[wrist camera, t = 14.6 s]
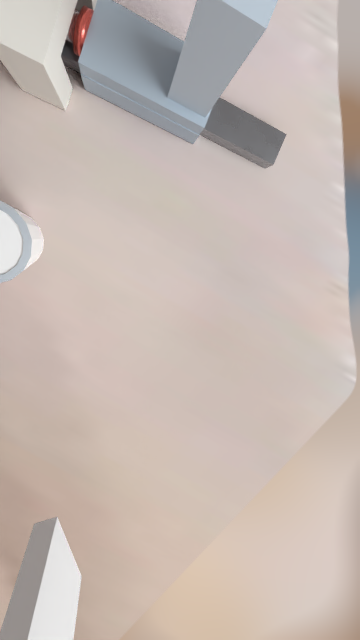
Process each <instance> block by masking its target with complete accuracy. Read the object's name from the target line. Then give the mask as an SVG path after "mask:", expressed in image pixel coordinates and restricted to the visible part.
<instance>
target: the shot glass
mask: <svg viewBox="0 0 360 640" xmlns="http://www.w3.org/2000/svg"><path fill="white" fill-rule="evenodd" d="M43 243H44V238H43V235H42V232H41V229H40V227H39V226H38V225H37V223H36V222H35V221H34V220H33V219H32V218H31V217H29V216H28V215H26V214H24V213H22V212H21V211H19V210H17V209H15V208H13V207H11V206H10V205H8V204H6V203H4V202H2V201H0V283H1V282H5V281H9V280H12V279H13V278H14V277H15V276H17V275H18V274H19V273H21V272H22V271H23V270H25V269H26V268H27V267H28V266H30V265H31V264H32V263H34V262H35V261H36V260H38V258H39V256H40V255H41V253H42V251H43Z"/></svg>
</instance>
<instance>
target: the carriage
mask: <svg viewBox="0 0 360 640" xmlns="http://www.w3.org/2000/svg"><path fill="white" fill-rule="evenodd" d="M277 1H278V0H197V2H196V5H195V9H194V12H193V15H192V18H191V22H190V25H189V28H188V31H187V35H186V38H185V41H182V40H180V39H178V38H177V37H175V36H173V35H171V34H170V33H168V32H166V31H165V30H163V29H161V28H159V27H158V26H156V25H154V24H152V23H151V22H149V21H147V20H146V19H144V18H142V17H140V16H139V15H137V14H135V13H133V12H132V11H130V10H128V9H127V8H125V7H123V6H121V5H120V4H118V3H116V2H114V1H113V0H97V3H96V6H95V9H94V12H93V16H92V19H91V22H90V25H89V28H88V32H87V35H86V38H85V41H84V44H83V48H82V51H81V54H80V57H79V60H78V64H79V67H80V71H81V77H82V81H83V84H84V88H85V90H87V91H89V92H91V93H93V94H95V95H97V96H99V97H101V98H103V99H105V100H107V101H109V102H111V103H113V104H115V105H117V106H119V107H120V108H122V109H124V110H126V111H128V112H130V113H132V114H134V115H136V116H138V117H140V118H142V119H144V120H146V121H148V122H150V123H152V124H154V125H156V126H158V127H160V128H162V129H164V130H166V131H168V132H170V133H172V134H174V135H176V136H178V137H180V138H182V139H184V140H186V141H188V142H190V143H192V144H193V143H194V142H195V141H196V139H197V138H198V137H199V135H200V133H201V132H202V131H203V129H204V128H205V125H206V123H207V120H208V118H209V115H210V112H211V110H212V107H213V106H214V104H215V103H216V101H217V100H218V98H219V97H220V96H221V94H222V93H223V91H224V90H225V88H226V87H227V85H228V84H229V82H230V81H231V79H232V78H233V77H234V75H235V74H236V72H237V71H238V69H239V68H240V66H241V65H242V63H243V62H244V61H245V59H246V58H247V56H248V55H249V53H250V52H251V50H252V49H253V47H254V46H255V45H256V43H257V42H258V40H259V39H260V37H261V36H262V34H263V33H264V31H265V30H266V28H267V26H268V23H269V21H270V18H271V16H272V13H273V11H274V8H275V6H276V3H277Z"/></svg>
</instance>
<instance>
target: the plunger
mask: <svg viewBox="0 0 360 640" xmlns="http://www.w3.org/2000/svg"><path fill="white" fill-rule="evenodd" d="M93 12H94V10H92V9H90V8H89V7H87V6H83V7H82V8H81V10H80V13H78V12H77V11H74V14H73V17H72V20H71V24H70V27H69V30H68V34H67V37H66V40H68V41H69V42H71V43H73V51H74V54H76V55H78V56H80V54H81V51H82V48H83V44H84V41H85V38H86V35H87V32H88V28H89V25H90V22H91V19H92V16H93Z"/></svg>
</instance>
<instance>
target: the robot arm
mask: <svg viewBox="0 0 360 640" xmlns="http://www.w3.org/2000/svg"><path fill="white" fill-rule="evenodd" d="M80 584H81V574H80V572H79V569H78V567H77V564H76V562H75V559H74V557H73V554H72V552H71V549H70V547H69V545H68V542H67V540H66V537H65V535H64V532H63V530H62V527H61V525H60V522H59V520H58V517H55V518H52V519H48V520H45V521H42V522H38V523H35V524H34V526H33V530H32V533H31V536H30V539H29V542H28V545H27V549H26V552H25V555H24V558H23V561H22V564H21V568H20V571H19V574H18V577H17V580H16V584H15V587H14V590H13V593H12V596H11V599H10V603H9V606H8V609H7V612H6V615H5V618H4V622H3V625H2V628H1V631H0V640H73V638H74V630H75V623H76V615H77V607H78V599H79V592H80Z"/></svg>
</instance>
